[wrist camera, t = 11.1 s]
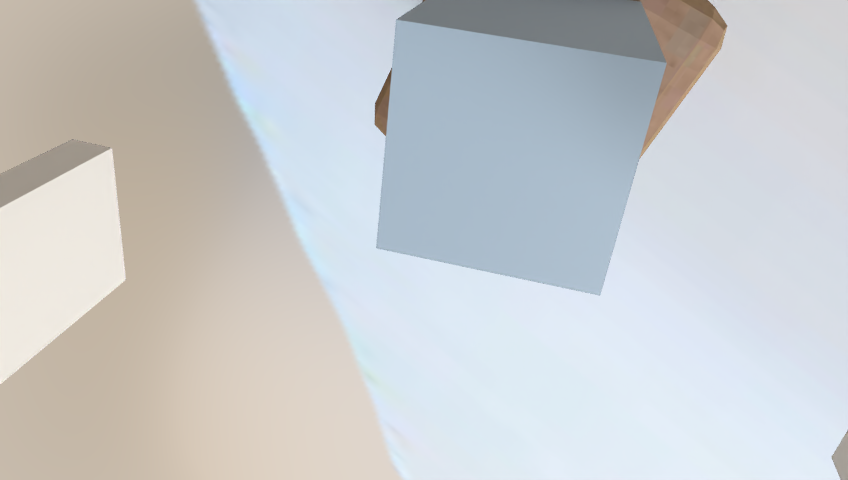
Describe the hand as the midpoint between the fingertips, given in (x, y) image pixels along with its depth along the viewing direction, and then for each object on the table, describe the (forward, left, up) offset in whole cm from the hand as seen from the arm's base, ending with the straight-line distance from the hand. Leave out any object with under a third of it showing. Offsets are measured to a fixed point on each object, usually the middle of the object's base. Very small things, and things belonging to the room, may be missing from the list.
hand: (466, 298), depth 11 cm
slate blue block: (0, 0, -15) cm, 15 cm away
